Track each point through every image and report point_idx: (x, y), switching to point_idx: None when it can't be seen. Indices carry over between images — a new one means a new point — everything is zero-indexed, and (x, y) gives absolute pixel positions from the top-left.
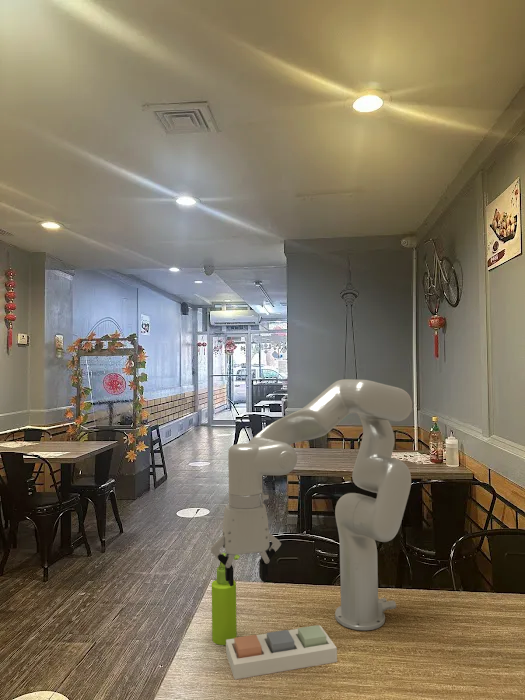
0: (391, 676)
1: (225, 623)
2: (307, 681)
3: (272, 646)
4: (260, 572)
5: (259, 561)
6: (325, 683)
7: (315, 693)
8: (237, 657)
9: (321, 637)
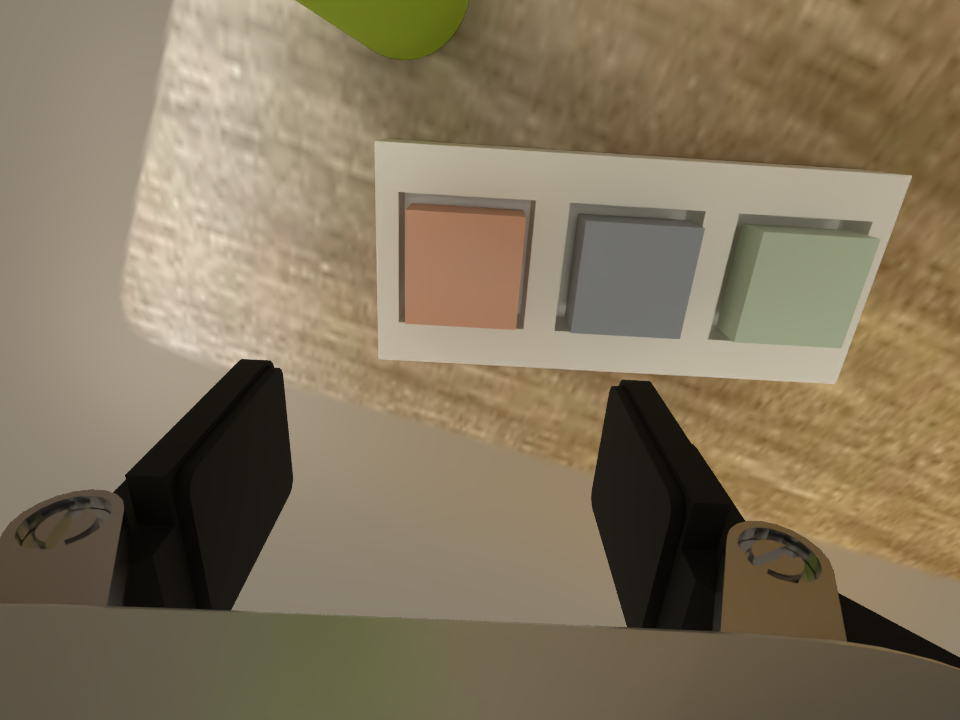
0: (905, 482)
1: (377, 44)
2: None
3: (569, 328)
4: (619, 467)
5: (663, 514)
6: None
7: None
8: None
9: (815, 345)
